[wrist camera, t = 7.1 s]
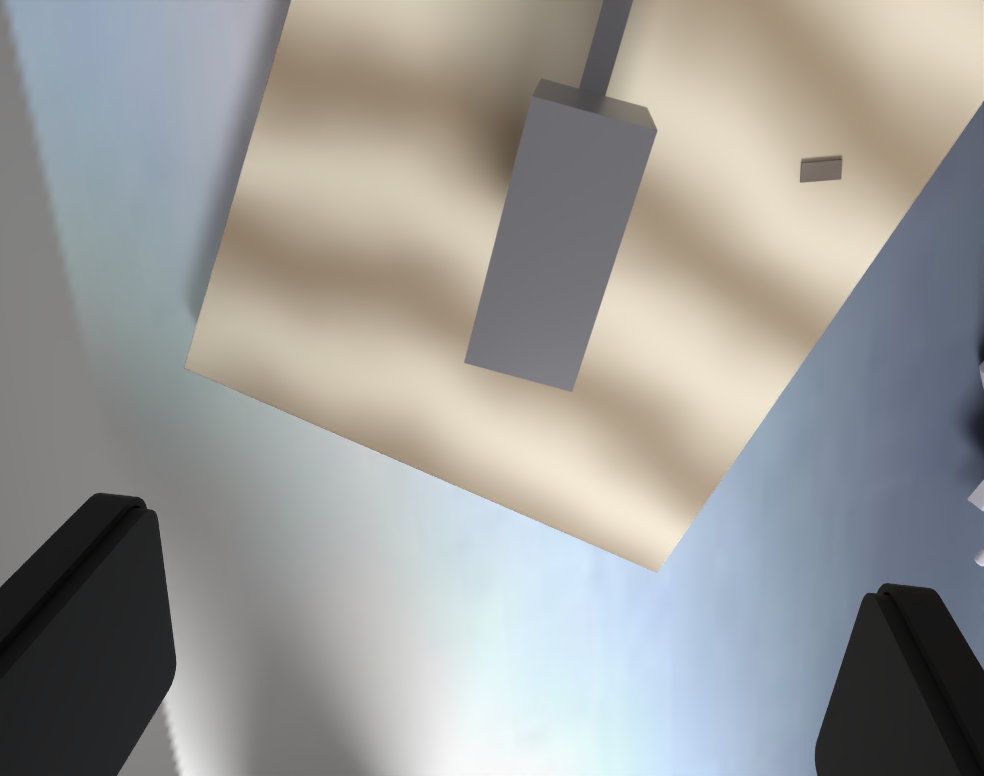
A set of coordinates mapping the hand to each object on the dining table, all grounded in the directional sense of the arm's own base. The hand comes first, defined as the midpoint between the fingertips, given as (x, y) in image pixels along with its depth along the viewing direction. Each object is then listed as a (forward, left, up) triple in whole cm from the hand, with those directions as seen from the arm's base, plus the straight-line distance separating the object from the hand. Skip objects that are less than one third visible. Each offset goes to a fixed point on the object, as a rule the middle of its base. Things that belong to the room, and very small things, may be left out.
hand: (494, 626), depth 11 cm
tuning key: (+4, +1, -18) cm, 19 cm away
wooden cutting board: (+2, 0, -21) cm, 21 cm away
